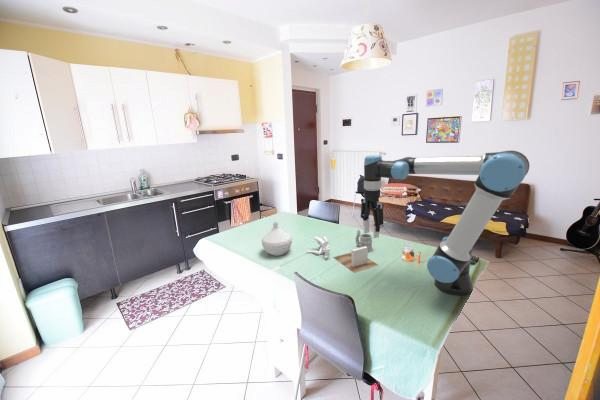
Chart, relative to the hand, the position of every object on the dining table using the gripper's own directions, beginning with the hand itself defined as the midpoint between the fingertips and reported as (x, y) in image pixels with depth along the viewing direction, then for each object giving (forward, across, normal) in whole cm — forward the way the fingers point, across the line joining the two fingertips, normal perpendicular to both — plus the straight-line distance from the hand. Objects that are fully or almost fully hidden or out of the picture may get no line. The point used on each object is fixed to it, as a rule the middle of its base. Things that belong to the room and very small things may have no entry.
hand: (371, 235), depth 136 cm
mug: (+21, +24, -14) cm, 35 cm away
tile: (+20, +9, 0) cm, 22 cm away
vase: (+21, +48, +32) cm, 61 cm away
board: (+21, +13, 0) cm, 25 cm away
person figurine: (+21, +32, +10) cm, 39 cm away
